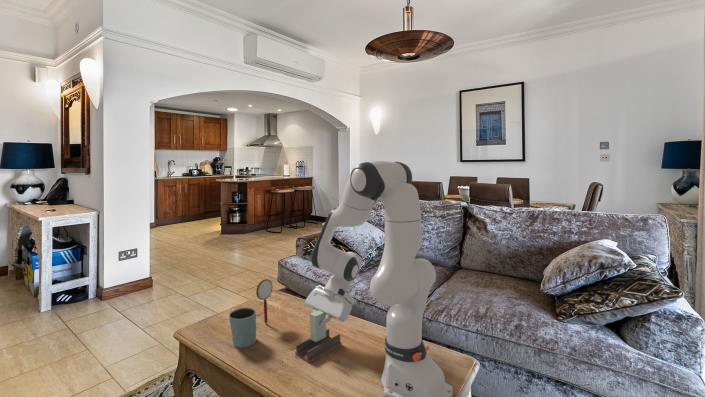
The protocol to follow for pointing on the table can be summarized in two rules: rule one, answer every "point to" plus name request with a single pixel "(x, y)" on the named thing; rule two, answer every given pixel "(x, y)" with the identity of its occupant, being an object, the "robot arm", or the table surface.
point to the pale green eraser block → (317, 326)
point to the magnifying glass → (264, 294)
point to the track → (317, 347)
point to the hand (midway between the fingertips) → (316, 324)
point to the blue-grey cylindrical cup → (243, 327)
